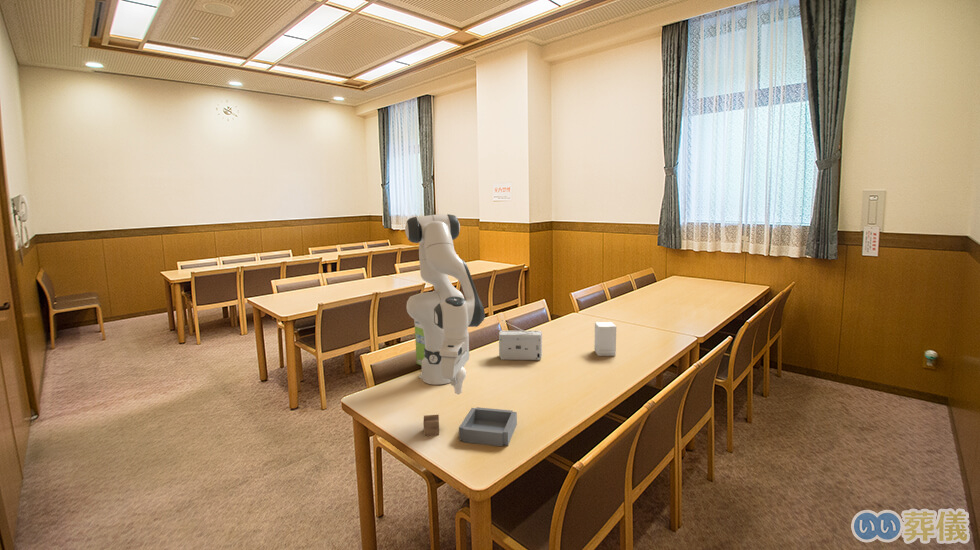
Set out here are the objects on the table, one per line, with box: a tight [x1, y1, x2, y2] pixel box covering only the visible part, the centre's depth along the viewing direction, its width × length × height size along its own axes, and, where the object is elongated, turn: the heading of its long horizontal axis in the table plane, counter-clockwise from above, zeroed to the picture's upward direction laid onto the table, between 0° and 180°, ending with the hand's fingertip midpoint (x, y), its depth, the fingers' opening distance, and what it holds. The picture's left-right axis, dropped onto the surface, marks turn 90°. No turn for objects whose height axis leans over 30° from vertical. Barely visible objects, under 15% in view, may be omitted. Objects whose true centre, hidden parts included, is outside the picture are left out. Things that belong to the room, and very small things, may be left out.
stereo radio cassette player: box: [498, 320, 543, 361], centre depth 227 cm, size 21×8×20 cm, turn 84°
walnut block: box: [422, 414, 440, 437], centre depth 157 cm, size 5×5×5 cm
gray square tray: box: [458, 406, 518, 447], centre depth 156 cm, size 16×16×4 cm
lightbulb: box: [453, 366, 467, 395], centre depth 165 cm, size 6×6×11 cm
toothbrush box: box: [413, 319, 425, 367], centre depth 222 cm, size 18×10×24 cm, turn 132°
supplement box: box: [593, 321, 617, 357], centre depth 232 cm, size 9×9×15 cm
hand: (457, 381), depth 165 cm, fingers closed on lightbulb, 5 cm apart
